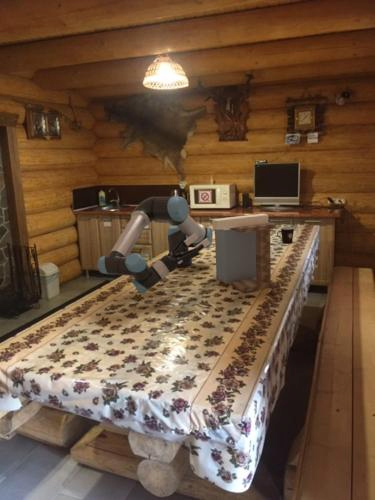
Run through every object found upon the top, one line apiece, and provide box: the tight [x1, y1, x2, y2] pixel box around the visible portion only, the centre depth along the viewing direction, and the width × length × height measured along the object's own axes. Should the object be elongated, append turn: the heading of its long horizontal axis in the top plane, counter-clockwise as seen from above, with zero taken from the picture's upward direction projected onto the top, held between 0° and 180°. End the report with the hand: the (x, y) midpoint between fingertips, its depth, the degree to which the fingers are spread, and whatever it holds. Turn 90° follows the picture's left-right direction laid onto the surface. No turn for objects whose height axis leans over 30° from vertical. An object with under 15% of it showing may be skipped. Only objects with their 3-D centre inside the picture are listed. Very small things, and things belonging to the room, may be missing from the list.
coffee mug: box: [276, 226, 295, 245], centre depth 286 cm, size 12×9×10 cm
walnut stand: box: [229, 221, 277, 293], centre depth 199 cm, size 18×12×30 cm, turn 110°
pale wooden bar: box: [211, 213, 269, 230], centre depth 193 cm, size 26×5×4 cm, turn 110°
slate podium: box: [214, 228, 256, 285], centre depth 212 cm, size 17×12×27 cm
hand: (202, 237), depth 188 cm, fingers open, 13 cm apart
